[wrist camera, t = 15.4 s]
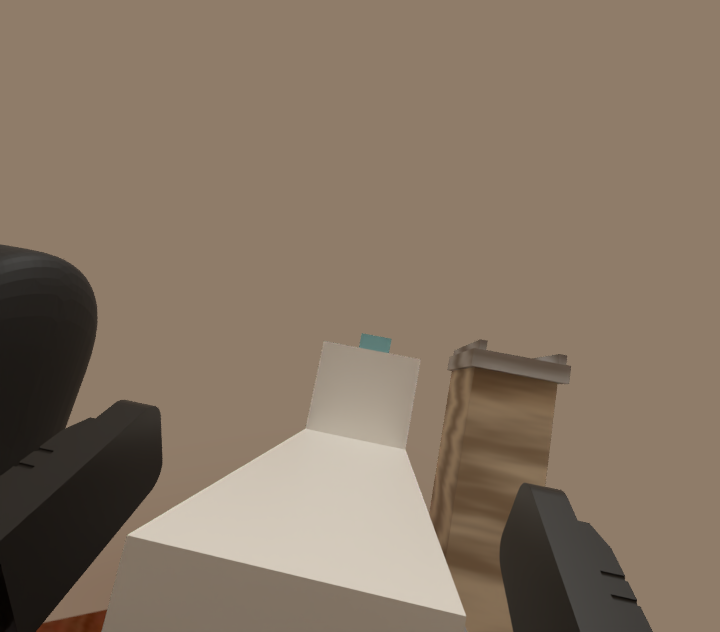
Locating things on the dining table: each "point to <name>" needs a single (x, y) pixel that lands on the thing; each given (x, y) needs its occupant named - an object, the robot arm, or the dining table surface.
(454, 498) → the stand
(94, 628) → the dining table surface
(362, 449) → the breaker module
